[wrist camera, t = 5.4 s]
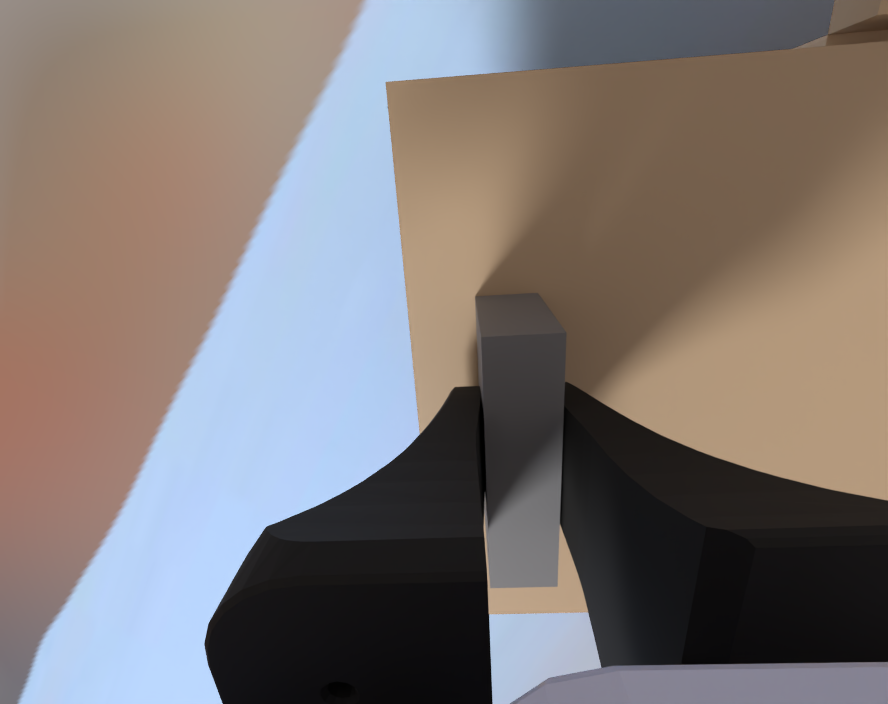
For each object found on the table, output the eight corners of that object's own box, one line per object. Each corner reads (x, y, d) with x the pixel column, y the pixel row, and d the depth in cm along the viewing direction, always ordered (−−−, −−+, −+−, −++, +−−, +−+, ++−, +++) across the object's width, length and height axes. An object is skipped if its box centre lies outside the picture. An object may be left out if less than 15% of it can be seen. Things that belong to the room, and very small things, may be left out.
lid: (924, 586, 14) (1071, 714, 11) (438, 596, 15) (432, 719, 12) (1165, 26, 9) (1611, -73, 5) (390, 89, 10) (353, 37, 6)
